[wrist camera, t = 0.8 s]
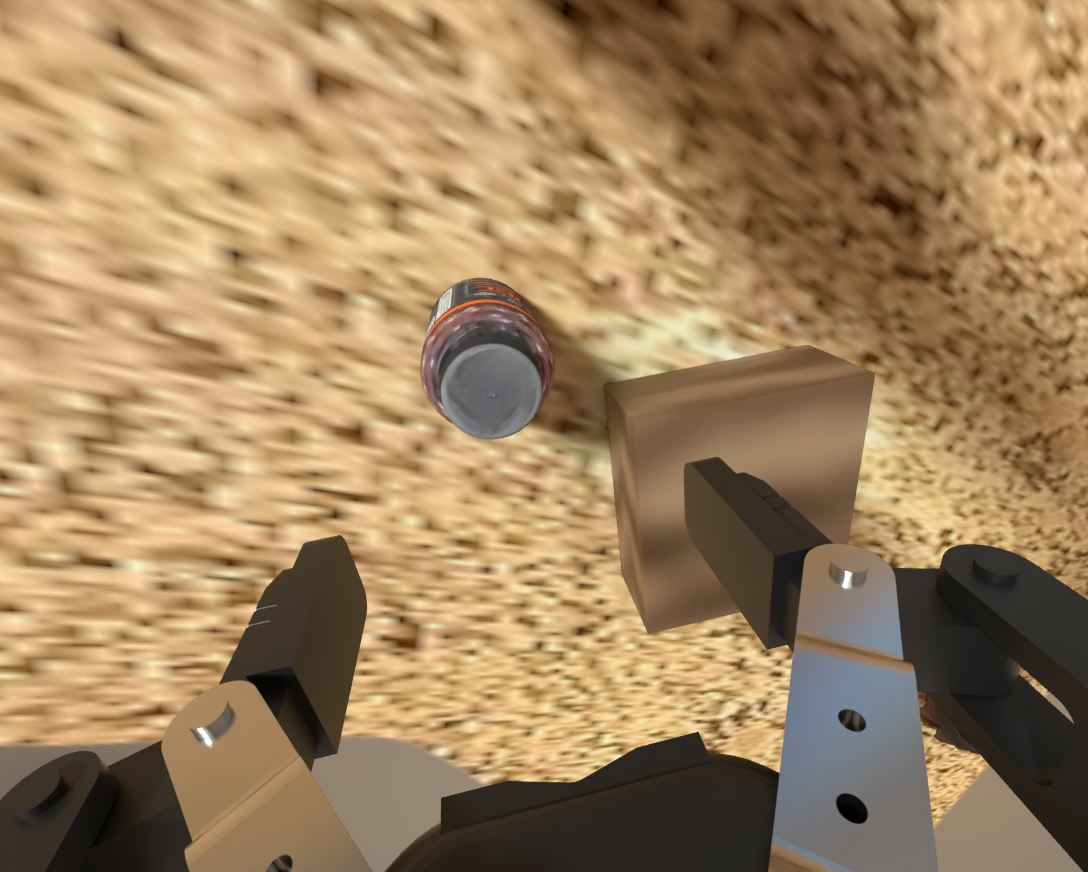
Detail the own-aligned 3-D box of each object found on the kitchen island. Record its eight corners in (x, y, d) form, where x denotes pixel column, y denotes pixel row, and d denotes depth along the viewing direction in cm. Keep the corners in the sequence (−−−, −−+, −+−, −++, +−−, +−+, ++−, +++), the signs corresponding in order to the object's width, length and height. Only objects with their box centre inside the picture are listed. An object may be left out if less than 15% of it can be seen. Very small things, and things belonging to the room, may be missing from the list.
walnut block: (603, 384, 32) (633, 421, 27) (808, 344, 34) (875, 373, 28) (621, 574, 40) (648, 633, 34) (789, 536, 41) (840, 588, 35)
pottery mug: (884, 718, 55) (936, 764, 47) (887, 631, 56) (939, 662, 47) (1002, 729, 54) (1076, 778, 46) (1004, 640, 55) (1078, 673, 46)
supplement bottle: (547, 300, 30) (596, 354, 20) (507, 389, 32) (533, 481, 21) (449, 256, 28) (447, 292, 18) (414, 354, 30) (394, 437, 20)
